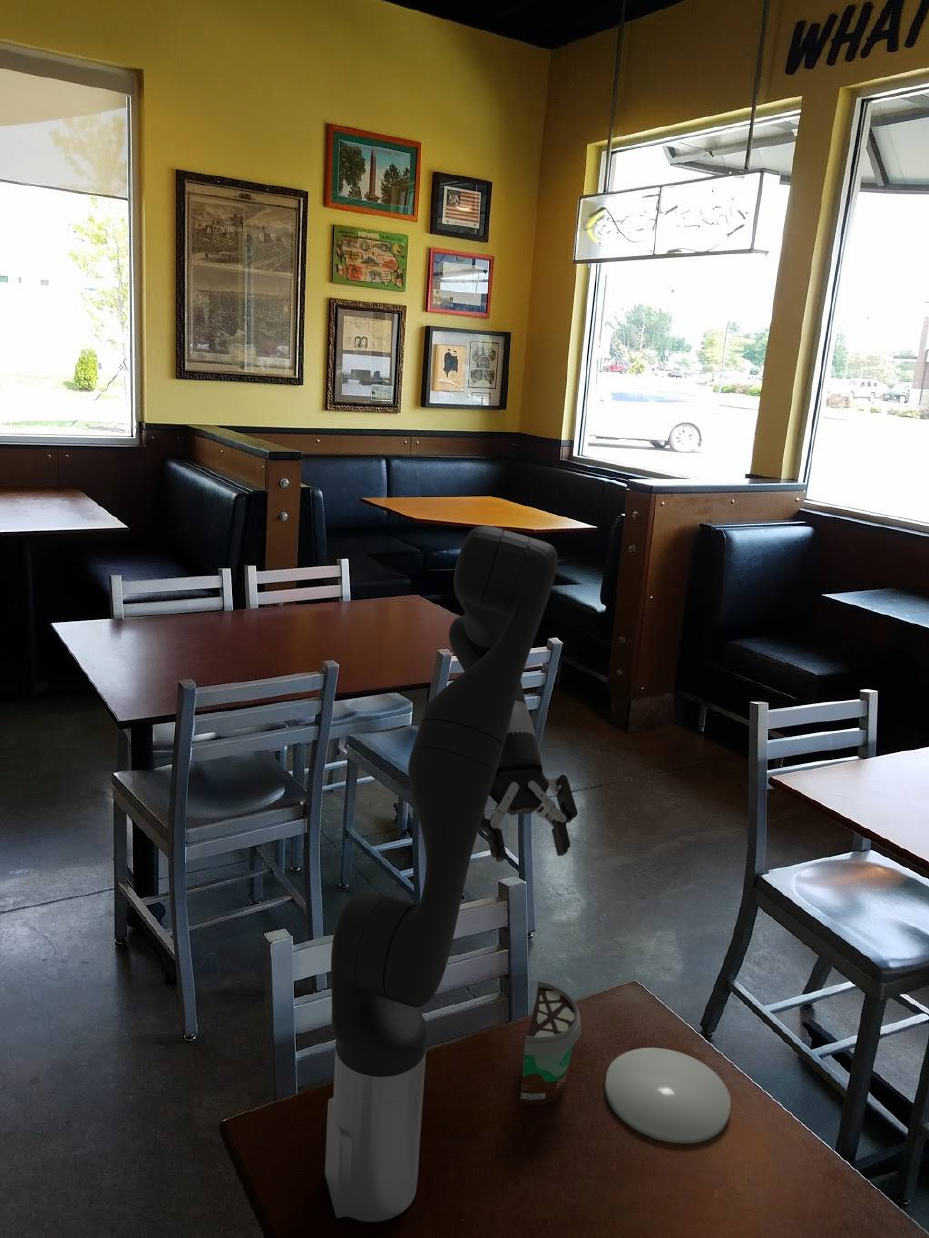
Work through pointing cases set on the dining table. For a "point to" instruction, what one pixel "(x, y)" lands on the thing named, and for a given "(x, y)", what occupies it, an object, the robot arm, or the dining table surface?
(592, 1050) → the dining table surface
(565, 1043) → the food container
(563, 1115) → the dining table surface
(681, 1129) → the serving plate
